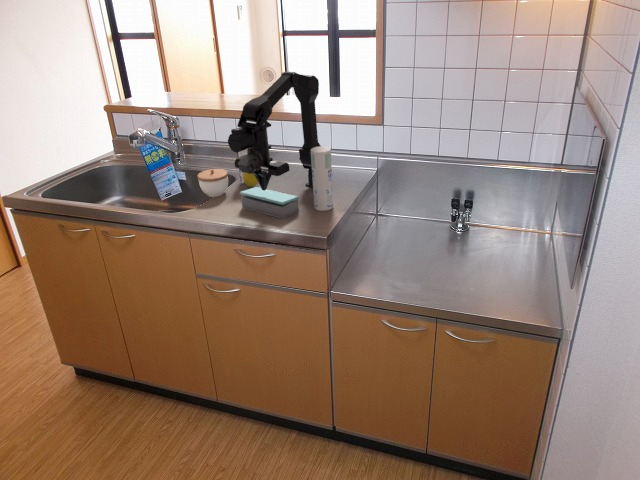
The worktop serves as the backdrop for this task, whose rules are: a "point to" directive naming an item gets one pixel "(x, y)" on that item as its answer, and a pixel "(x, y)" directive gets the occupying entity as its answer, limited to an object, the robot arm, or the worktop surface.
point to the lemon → (250, 179)
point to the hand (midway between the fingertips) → (264, 190)
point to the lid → (269, 195)
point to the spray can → (322, 178)
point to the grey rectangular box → (269, 207)
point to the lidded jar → (213, 182)
